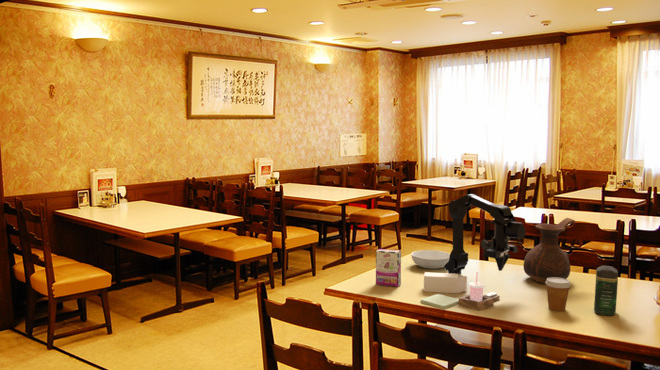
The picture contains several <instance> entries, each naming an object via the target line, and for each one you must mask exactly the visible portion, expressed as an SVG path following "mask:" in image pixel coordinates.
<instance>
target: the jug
mask: <svg viewBox="0 0 660 370" xmlns="http://www.w3.org/2000/svg"><path fill="white" fill-rule="evenodd" d="M575 223H576V220H575V219H573V218H569V217H565V218H564V219H562V220H561V221H560V222H559V223H557V224H551V223H538V224H536V225H535V229H537V230H539V231H540V233H541V239H540V242H539V244H537V245H535V246H534V247H532V248H531V249H530V250H528V252H527V253H526V255H525V256H524V260H523V271H524V273H525V274H526V275H527V276H528V277H530V278H531V279H532V280H534V281H535V282H537V283H540V284H546V283H545V282H546V280H547V278H551V277H557V278H564V279H567V280H568V277H570V274H571V264H570V259H569V257H570V254H569V253H567V252H566V251H564V250H563V249H561V248H560V246H559V244H558V236H559V234H560V233H563V232H565V231H566V229H567V227H568V226H569V225H571V224H575Z"/></svg>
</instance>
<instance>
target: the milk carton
mask: <svg viewBox="0 0 660 370" xmlns="http://www.w3.org/2000/svg"><path fill="white" fill-rule="evenodd" d="M467 280H468V276H467V275H463V274H461V275H460V274H451V273H448V272H428V271H424V274H423V291H424V292H427V293H431V292H432V293H445V294H446V293H448V294H461V293H463V292H464V293H465V292H467V286H468V285H467V284H468V283H467V282H468V281H467Z"/></svg>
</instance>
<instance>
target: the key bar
mask: <svg viewBox="0 0 660 370" xmlns="http://www.w3.org/2000/svg"><path fill="white" fill-rule="evenodd" d="M483 295H484V300H485V297H491V298H492V297H495V296H498V293H497V292H493V291H491V292H488V293H486V294H485V293H484V294H483Z"/></svg>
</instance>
